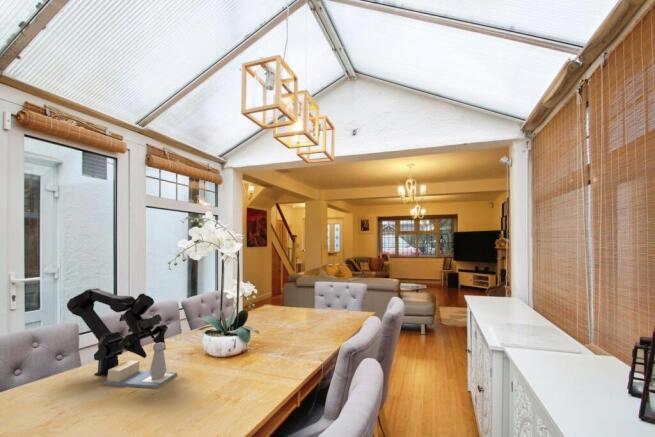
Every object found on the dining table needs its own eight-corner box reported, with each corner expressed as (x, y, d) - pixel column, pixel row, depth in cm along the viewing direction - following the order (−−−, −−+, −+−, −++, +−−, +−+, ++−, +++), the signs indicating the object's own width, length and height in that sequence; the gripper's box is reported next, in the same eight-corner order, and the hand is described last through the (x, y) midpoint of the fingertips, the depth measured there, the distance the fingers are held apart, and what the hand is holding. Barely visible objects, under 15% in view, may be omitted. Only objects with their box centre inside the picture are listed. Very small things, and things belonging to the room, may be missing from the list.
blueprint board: (104, 384, 117) (105, 370, 117) (128, 371, 129) (129, 359, 129) (156, 388, 114) (157, 374, 114) (176, 375, 126) (177, 362, 126)
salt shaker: (163, 380, 118) (164, 345, 119) (146, 381, 117) (148, 346, 118) (167, 373, 124) (169, 340, 125) (152, 375, 123) (154, 341, 124)
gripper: (126, 314, 116) (148, 347, 112) (165, 304, 134) (185, 333, 130) (109, 333, 118) (129, 367, 113) (150, 321, 135) (169, 350, 131)
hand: (155, 353), depth 122 cm, fingers open, 9 cm apart
